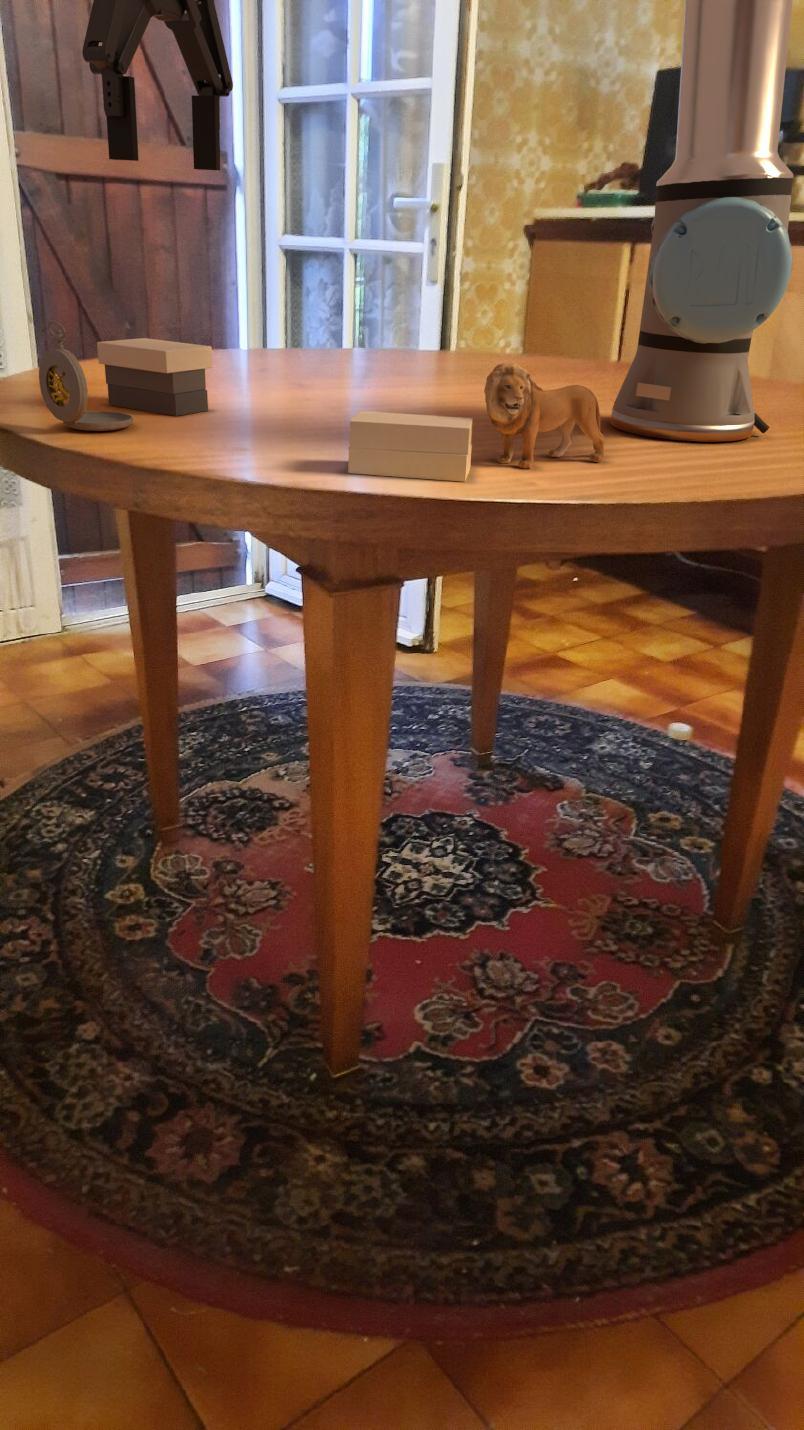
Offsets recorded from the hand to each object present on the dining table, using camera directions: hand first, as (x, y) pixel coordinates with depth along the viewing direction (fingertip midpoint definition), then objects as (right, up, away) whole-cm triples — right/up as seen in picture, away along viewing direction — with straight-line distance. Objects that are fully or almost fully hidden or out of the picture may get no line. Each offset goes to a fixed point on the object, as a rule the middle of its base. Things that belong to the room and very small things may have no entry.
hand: (167, 166), depth 99 cm
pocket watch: (-8, -26, +1) cm, 27 cm away
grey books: (-4, -20, +13) cm, 24 cm away
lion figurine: (+36, -30, -5) cm, 47 cm away
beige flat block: (-4, -16, +11) cm, 20 cm away
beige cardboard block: (+23, -32, -11) cm, 41 cm away
